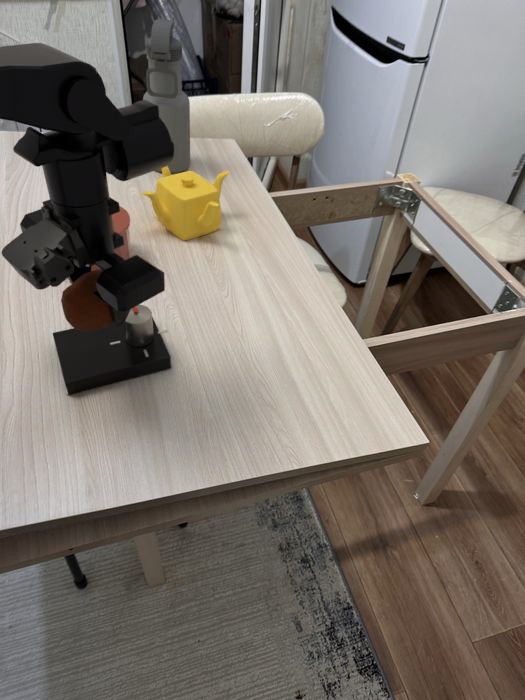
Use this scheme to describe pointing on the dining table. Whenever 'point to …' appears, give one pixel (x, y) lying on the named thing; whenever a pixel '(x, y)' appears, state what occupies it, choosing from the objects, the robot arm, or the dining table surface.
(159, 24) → the water bottle
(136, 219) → the dining table surface
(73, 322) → the potato
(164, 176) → the teapot
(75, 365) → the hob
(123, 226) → the pot lid
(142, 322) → the hob knob
